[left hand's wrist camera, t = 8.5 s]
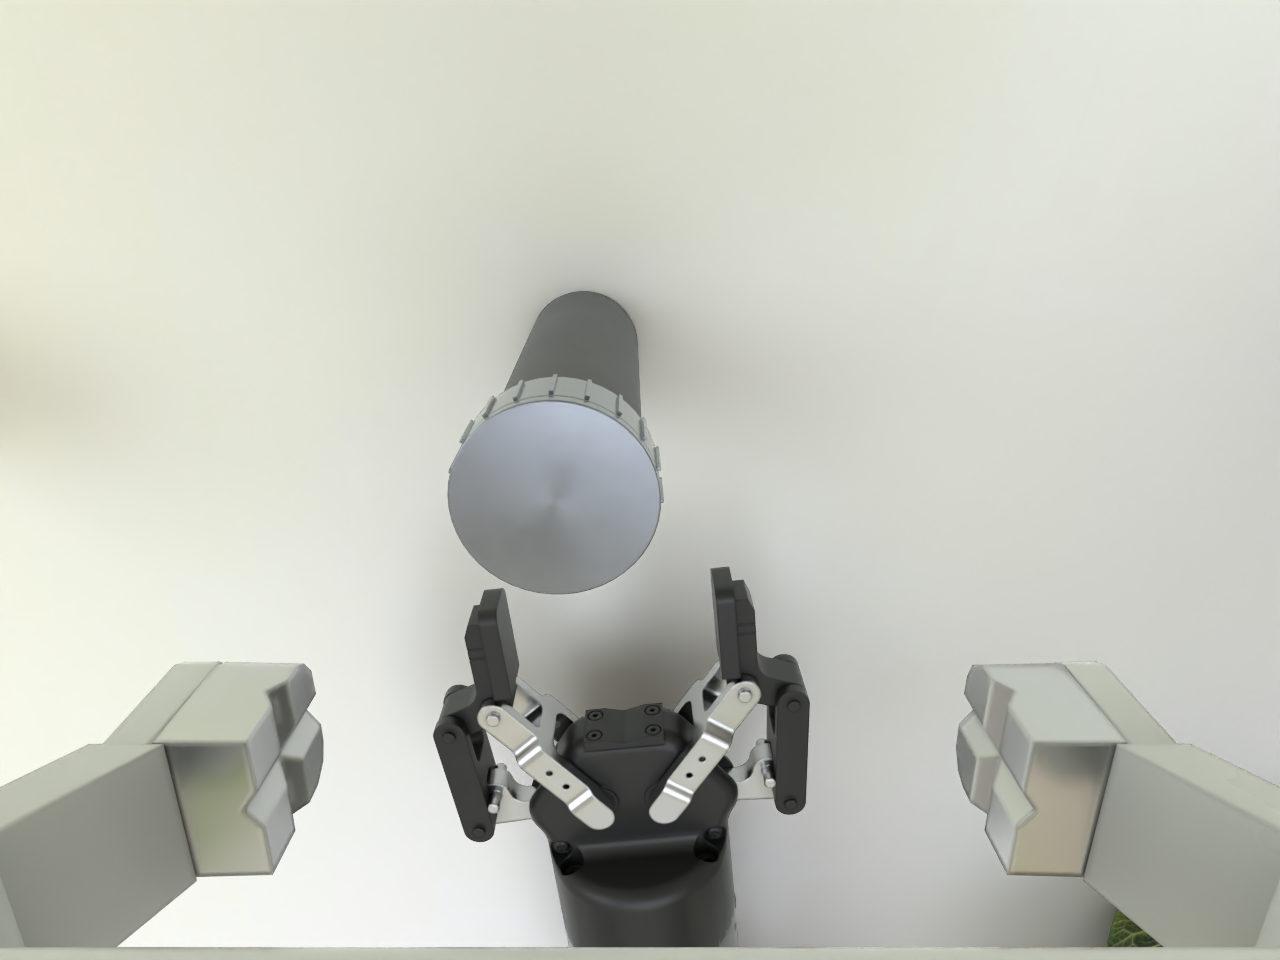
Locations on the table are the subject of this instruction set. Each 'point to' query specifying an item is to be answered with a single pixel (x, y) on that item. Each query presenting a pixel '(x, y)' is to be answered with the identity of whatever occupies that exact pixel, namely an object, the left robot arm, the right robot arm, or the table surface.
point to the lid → (556, 486)
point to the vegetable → (1129, 934)
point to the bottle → (583, 345)
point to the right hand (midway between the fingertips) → (605, 588)
